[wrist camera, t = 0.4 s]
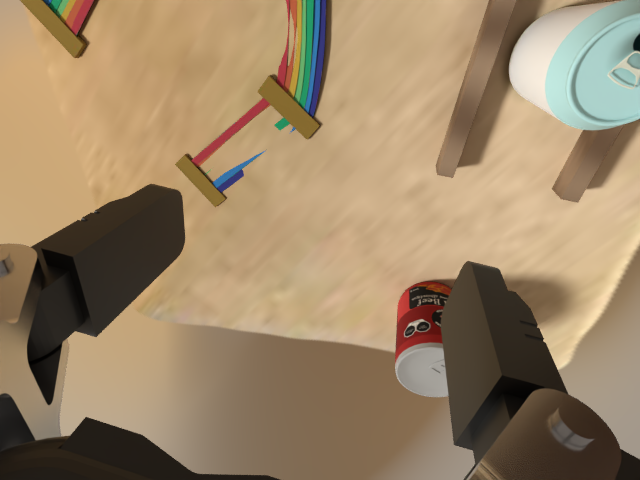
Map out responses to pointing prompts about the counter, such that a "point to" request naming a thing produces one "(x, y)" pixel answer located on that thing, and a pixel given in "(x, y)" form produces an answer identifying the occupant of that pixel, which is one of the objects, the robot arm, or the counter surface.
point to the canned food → (421, 339)
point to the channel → (487, 45)
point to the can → (582, 64)
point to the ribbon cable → (284, 94)
